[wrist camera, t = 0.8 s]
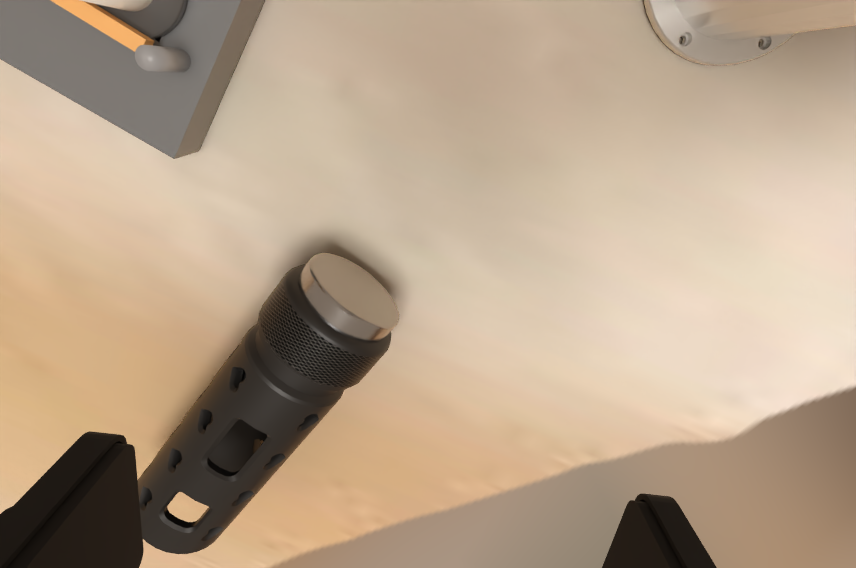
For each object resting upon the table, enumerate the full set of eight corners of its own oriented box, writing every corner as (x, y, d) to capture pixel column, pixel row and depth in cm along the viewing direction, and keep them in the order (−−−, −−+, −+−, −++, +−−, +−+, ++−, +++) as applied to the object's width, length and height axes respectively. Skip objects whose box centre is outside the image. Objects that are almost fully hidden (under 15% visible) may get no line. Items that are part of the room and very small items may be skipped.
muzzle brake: (164, 439, 49) (100, 525, 40) (319, 228, 41) (285, 273, 31) (246, 485, 52) (204, 577, 42) (410, 294, 43) (404, 355, 34)
